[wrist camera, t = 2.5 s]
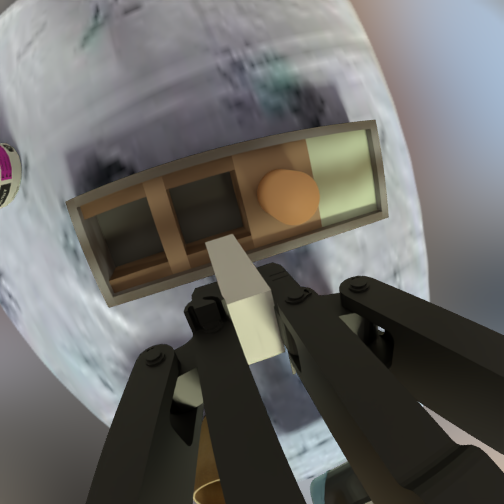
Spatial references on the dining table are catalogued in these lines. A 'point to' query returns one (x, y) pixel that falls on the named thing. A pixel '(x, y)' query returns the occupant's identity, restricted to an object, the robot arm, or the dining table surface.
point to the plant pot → (207, 472)
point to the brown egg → (288, 196)
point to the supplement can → (9, 174)
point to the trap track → (224, 207)
